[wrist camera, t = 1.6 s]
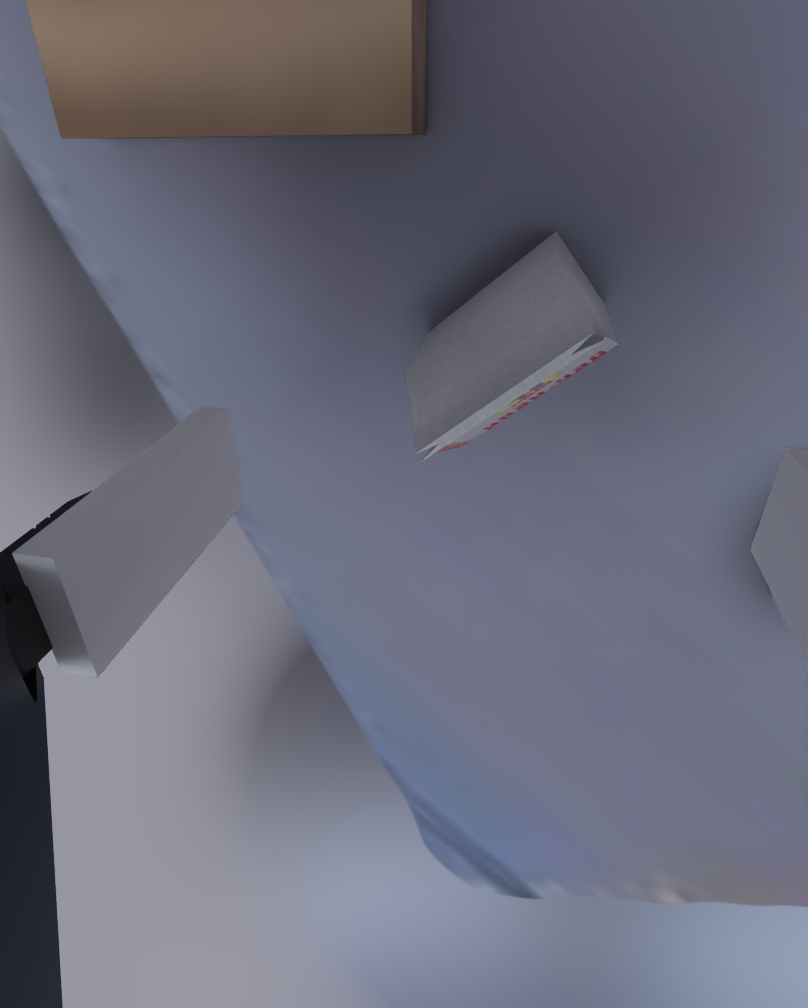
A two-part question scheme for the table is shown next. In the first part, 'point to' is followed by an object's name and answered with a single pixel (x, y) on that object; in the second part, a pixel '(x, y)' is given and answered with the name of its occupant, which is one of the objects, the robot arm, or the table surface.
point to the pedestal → (233, 67)
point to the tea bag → (506, 348)
